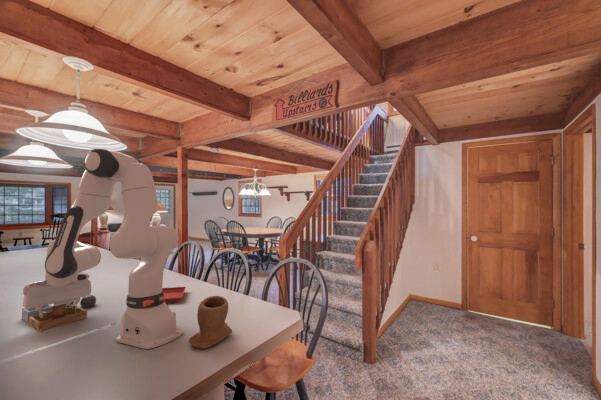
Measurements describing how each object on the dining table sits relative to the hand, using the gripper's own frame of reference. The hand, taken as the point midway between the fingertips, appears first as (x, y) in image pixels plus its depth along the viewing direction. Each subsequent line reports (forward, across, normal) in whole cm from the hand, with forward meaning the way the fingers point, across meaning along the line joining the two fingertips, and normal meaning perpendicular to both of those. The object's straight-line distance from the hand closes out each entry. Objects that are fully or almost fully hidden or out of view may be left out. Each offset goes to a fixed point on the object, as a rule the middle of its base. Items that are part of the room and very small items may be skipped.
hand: (58, 313), depth 105 cm
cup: (+4, +6, +13) cm, 15 cm away
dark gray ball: (+4, +13, +8) cm, 16 cm away
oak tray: (+4, 0, -1) cm, 4 cm away
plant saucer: (+4, +39, -9) cm, 40 cm away
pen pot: (+4, -4, +10) cm, 11 cm away
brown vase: (+3, +23, -63) cm, 67 cm away
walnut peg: (+3, 0, -1) cm, 3 cm away
